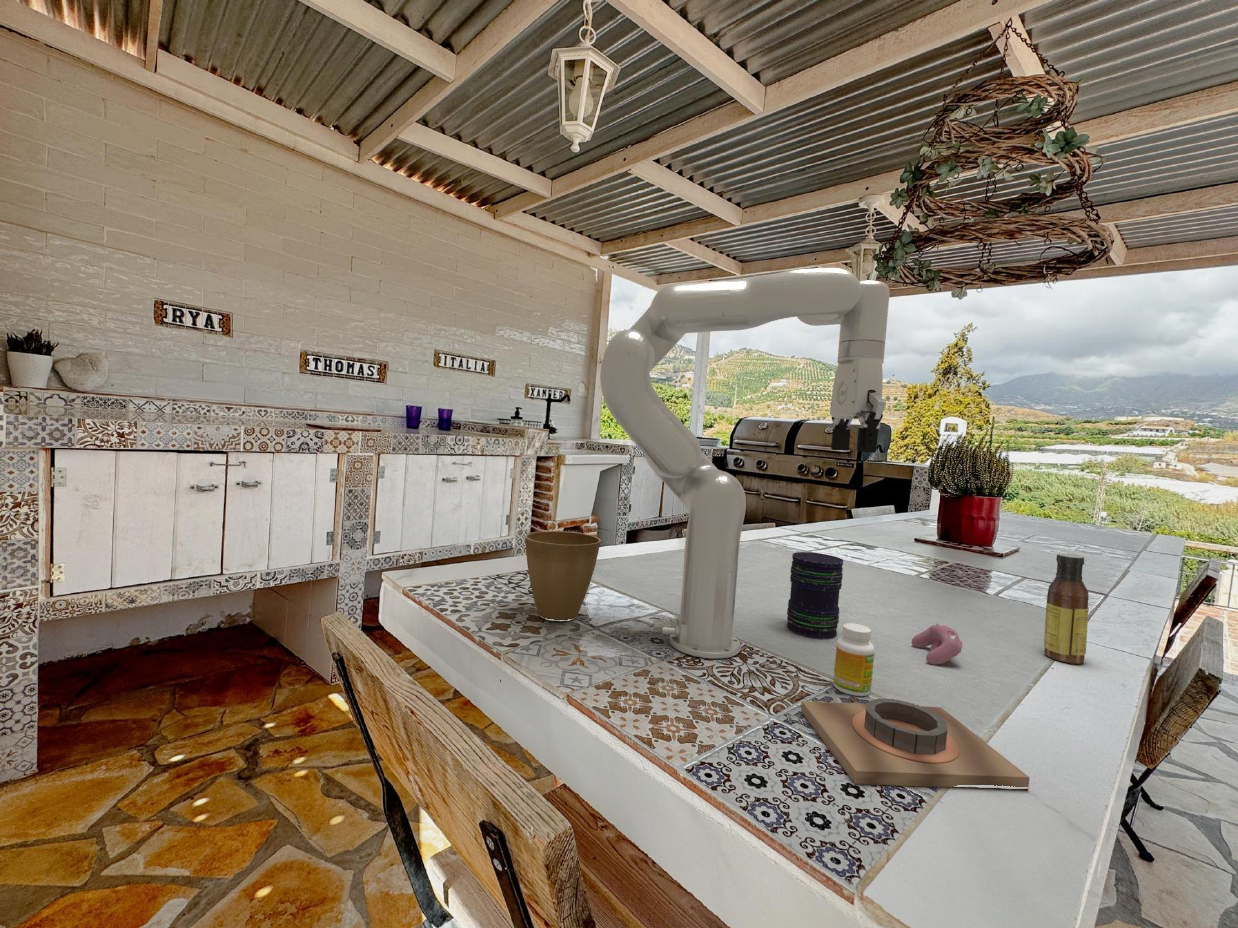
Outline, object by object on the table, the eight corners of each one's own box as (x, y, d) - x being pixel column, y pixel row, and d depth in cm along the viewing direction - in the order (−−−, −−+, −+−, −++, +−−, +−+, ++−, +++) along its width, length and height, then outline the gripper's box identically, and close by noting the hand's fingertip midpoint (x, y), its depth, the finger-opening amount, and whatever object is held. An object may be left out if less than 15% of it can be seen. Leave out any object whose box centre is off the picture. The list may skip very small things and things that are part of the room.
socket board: (854, 783, 62) (858, 748, 61) (801, 711, 78) (803, 683, 77) (1028, 790, 63) (1031, 755, 62) (939, 717, 79) (942, 689, 78)
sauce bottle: (1078, 656, 107) (1089, 555, 106) (1089, 668, 101) (1101, 560, 100) (1036, 649, 110) (1047, 550, 109) (1045, 660, 104) (1057, 555, 103)
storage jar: (847, 635, 111) (854, 561, 110) (817, 642, 105) (824, 565, 105) (806, 619, 119) (811, 550, 118) (775, 625, 114) (781, 553, 113)
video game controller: (949, 676, 97) (972, 644, 96) (925, 661, 98) (948, 629, 97) (929, 655, 107) (950, 625, 106) (907, 642, 108) (928, 612, 107)
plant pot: (593, 632, 103) (598, 546, 102) (513, 626, 103) (518, 541, 103) (597, 607, 118) (602, 532, 117) (527, 602, 118) (532, 528, 117)
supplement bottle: (867, 700, 82) (873, 636, 82) (829, 689, 85) (835, 627, 85) (872, 687, 87) (878, 626, 86) (836, 677, 90) (841, 618, 89)
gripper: (819, 359, 107) (812, 448, 108) (864, 345, 89) (855, 451, 90) (857, 362, 107) (849, 450, 108) (909, 348, 90) (900, 454, 91)
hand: (852, 451), depth 99 cm, fingers open, 9 cm apart
